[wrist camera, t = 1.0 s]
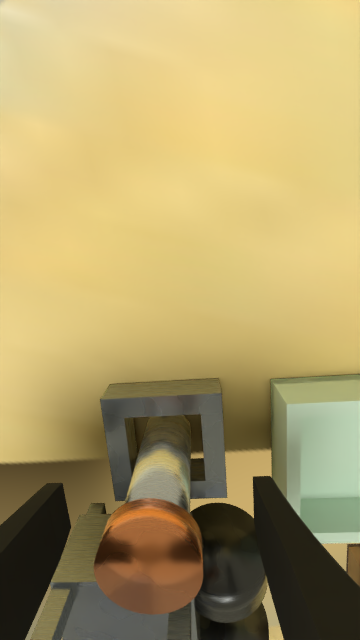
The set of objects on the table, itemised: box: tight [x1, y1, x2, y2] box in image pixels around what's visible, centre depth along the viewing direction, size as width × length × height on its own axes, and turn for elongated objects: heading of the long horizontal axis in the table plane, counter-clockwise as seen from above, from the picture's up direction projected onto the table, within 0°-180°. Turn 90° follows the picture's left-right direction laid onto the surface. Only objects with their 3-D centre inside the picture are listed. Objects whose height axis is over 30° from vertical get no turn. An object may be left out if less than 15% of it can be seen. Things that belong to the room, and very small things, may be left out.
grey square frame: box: [100, 378, 227, 501], centre depth 14 cm, size 6×6×2 cm
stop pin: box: [94, 415, 203, 615], centre depth 12 cm, size 3×3×7 cm
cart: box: [30, 503, 269, 640], centre depth 13 cm, size 8×10×7 cm
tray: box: [271, 374, 360, 544], centre depth 13 cm, size 7×7×2 cm
